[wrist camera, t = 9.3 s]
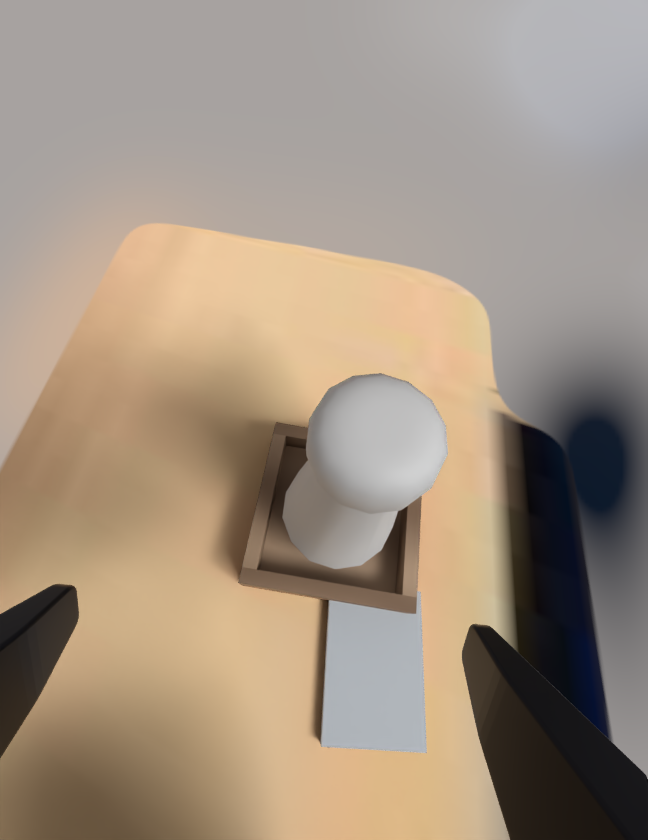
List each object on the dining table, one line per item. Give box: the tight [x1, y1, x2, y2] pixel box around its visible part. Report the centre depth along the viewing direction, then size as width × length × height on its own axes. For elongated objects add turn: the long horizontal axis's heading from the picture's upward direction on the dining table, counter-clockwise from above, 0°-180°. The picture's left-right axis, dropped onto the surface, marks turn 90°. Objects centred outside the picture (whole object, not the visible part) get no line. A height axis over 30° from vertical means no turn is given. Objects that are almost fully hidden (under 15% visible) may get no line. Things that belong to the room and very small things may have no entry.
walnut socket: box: [238, 422, 421, 614], centre depth 23 cm, size 9×9×2 cm
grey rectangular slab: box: [320, 591, 427, 753], centre depth 20 cm, size 7×5×1 cm
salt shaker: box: [282, 373, 448, 569], centre depth 17 cm, size 6×6×13 cm
